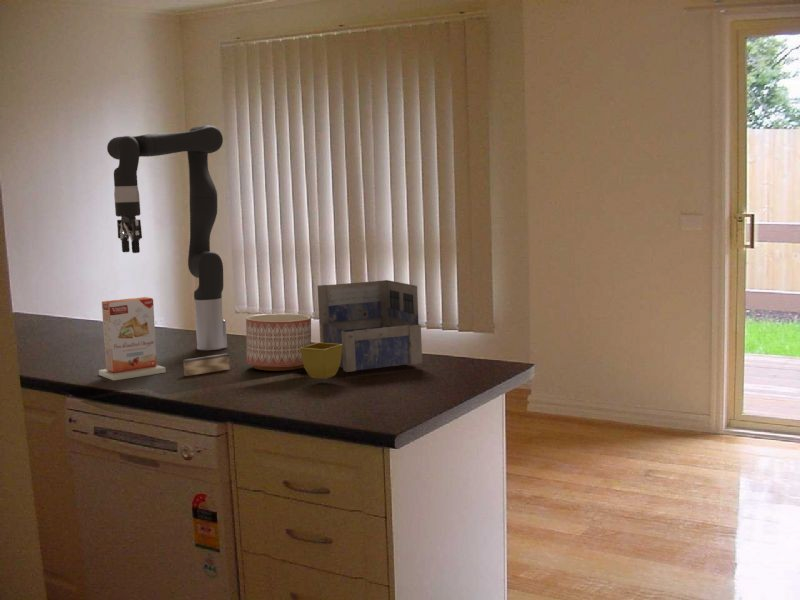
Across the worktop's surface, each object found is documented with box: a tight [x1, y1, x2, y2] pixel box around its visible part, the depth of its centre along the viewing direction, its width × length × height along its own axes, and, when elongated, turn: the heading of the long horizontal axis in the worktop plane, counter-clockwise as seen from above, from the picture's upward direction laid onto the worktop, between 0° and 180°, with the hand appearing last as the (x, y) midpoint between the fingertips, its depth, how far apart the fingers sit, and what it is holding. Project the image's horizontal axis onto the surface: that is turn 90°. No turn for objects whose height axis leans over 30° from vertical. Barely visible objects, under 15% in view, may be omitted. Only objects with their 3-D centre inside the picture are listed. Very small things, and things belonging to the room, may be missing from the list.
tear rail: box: [182, 353, 231, 377], centre depth 280 cm, size 14×2×5 cm, turn 127°
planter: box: [245, 313, 312, 372], centre depth 283 cm, size 19×19×15 cm
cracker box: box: [101, 296, 158, 373], centre depth 281 cm, size 14×6×21 cm, turn 131°
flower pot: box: [300, 342, 342, 380], centre depth 265 cm, size 9×9×9 cm
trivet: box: [98, 364, 167, 381], centre depth 282 cm, size 16×12×2 cm
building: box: [317, 279, 423, 373], centre depth 287 cm, size 23×24×23 cm
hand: (130, 252), depth 298 cm, fingers open, 8 cm apart
